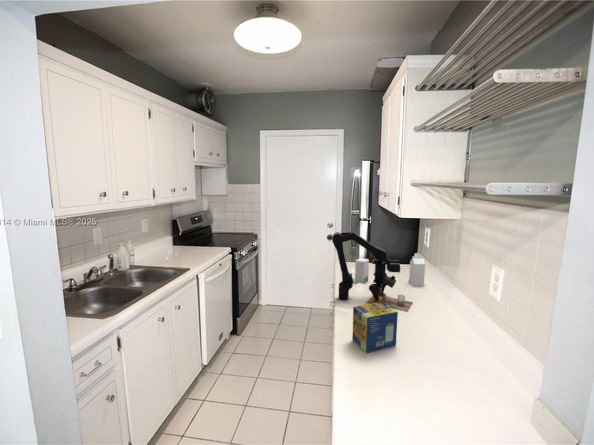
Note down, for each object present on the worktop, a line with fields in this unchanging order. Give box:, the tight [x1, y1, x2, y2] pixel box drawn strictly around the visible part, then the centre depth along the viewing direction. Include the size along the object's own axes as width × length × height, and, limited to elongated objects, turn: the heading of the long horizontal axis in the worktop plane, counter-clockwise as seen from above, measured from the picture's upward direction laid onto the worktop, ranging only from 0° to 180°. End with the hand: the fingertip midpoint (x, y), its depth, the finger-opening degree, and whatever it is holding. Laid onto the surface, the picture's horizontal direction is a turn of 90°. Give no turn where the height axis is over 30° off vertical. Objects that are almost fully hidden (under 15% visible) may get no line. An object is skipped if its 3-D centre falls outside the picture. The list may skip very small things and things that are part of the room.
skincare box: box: [354, 258, 370, 285], centre depth 199 cm, size 8×7×16 cm
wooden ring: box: [371, 292, 387, 303], centre depth 167 cm, size 7×7×4 cm
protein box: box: [351, 302, 399, 354], centre depth 126 cm, size 10×15×16 cm
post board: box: [366, 294, 414, 313], centre depth 164 cm, size 14×22×6 cm, turn 57°
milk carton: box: [408, 256, 426, 287], centre depth 194 cm, size 7×7×19 cm
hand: (378, 298), depth 167 cm, fingers open, 9 cm apart
